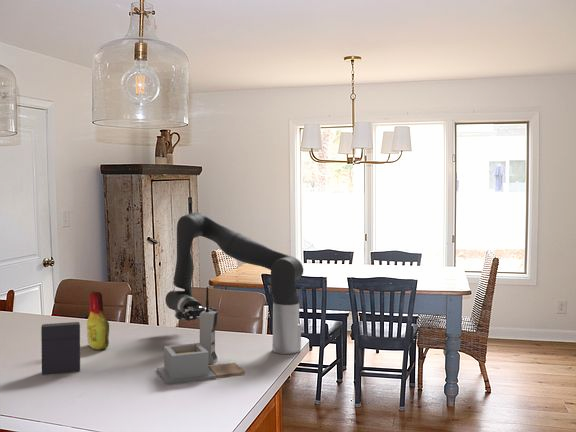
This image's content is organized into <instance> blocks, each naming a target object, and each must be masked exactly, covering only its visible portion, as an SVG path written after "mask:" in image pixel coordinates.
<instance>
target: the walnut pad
mask: <svg viewBox="0 0 576 432" xmlns="http://www.w3.org/2000/svg"><path fill="white" fill-rule="evenodd" d="M208 368H209V369H210V370H211V371H212V372H213V373H214V374H215V375H216V379H218V378H227V377H234V376H242V375H246V371H244V369H243V368H242V367H240V366H239V365H238V364H237V363H236V362H227V363H220V364H208Z"/></svg>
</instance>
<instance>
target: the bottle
mask: <svg viewBox="0 0 576 432" xmlns="http://www.w3.org/2000/svg"><path fill="white" fill-rule="evenodd" d="M103 302H104V301H103V295H102V293H101V292H100V291H91V293H90V294H89V316H88V318H87V321H86V331H87V333H86V337H87V343H88V345H89V346H90V347H91V348H92V349H95V350H99V351H101V350H105V349H107V348H108V347H109V343H110V342H109V337H110V336H109V335H110V324H109V321H108V318H107V316H106V315H105V313H104V303H103Z"/></svg>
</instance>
